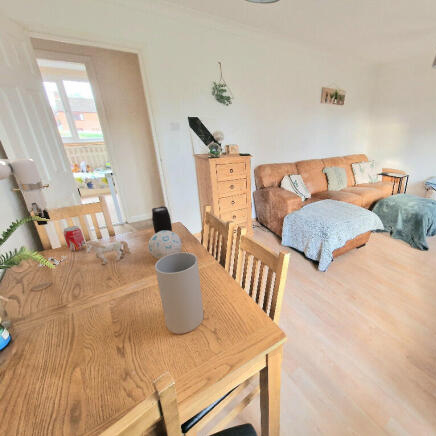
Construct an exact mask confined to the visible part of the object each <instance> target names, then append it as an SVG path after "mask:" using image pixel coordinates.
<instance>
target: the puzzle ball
mask: <svg viewBox="0 0 436 436" xmlns="http://www.w3.org/2000/svg"><path fill="white" fill-rule="evenodd" d="M182 243H183V242H182V239H181V237H180V236H179V235H178V234H177V233H176V232H175V231H173V230H172V231H160V232H158V233H155V232H154V234H153V235H152V236H151V237H150V238H149V241H148V244H147V249H148V253H149V254H150V255H151V256H152V257H153V258H154V259H157V260H160V259H161V258H163V257H165V256H167V255H170V254H173V253H180V252H181V250H182V245H183V244H182Z"/></svg>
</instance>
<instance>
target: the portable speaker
mask: <svg viewBox="0 0 436 436" xmlns="http://www.w3.org/2000/svg"><path fill="white" fill-rule="evenodd" d="M151 213H152V214H151V221H152V225H153V230H154V231H153V232H154V234H155V233H158V232H160V231H172V232H173V227H172V220H171V219H172V218H171V215H170V212H169V209H168V207H167V206H159V207H153V208H152V209H151Z"/></svg>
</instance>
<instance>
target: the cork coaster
mask: <svg viewBox="0 0 436 436" xmlns="http://www.w3.org/2000/svg"><path fill="white" fill-rule="evenodd" d="M51 285H52V281H49V280H46V281H41V282H38V283H36V284H34V285H32V286H31V287H30V290H31V292H38V291H39V292H40V291H43V290H45V289H48V288H49V287H50V286H51Z"/></svg>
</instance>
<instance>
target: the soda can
mask: <svg viewBox="0 0 436 436" xmlns="http://www.w3.org/2000/svg"><path fill="white" fill-rule="evenodd" d="M62 233H63V237H64V240H65V243H66V247H67V248H68V250H69V251H71V252H78V251H81V250H84V248H79V247H83V246H84V245H82V244H85V243H86V241H85V238H84V235H83V231H82V229H80V227H79V226H77V225H74V226H72V225H71V226H68V227H65V228H64V229H63V232H62Z"/></svg>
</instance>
